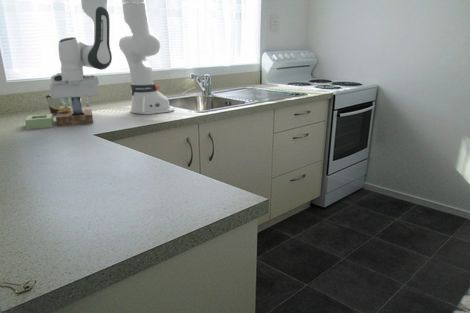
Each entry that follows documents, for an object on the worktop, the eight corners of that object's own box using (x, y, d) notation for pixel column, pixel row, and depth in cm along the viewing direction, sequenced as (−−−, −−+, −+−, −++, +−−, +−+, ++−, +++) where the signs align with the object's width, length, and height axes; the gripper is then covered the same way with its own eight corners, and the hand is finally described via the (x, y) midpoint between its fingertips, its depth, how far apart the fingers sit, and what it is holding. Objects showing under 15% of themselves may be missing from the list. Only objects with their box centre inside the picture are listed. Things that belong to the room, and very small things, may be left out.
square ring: (53, 122, 172) (52, 113, 171) (52, 127, 163) (50, 118, 162) (29, 124, 169) (27, 115, 167) (26, 129, 160) (24, 120, 159)
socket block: (92, 117, 183) (91, 108, 182) (93, 123, 170) (92, 114, 169) (58, 119, 178) (57, 111, 177) (57, 126, 165) (55, 117, 164)
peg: (83, 121, 174) (80, 95, 170) (83, 123, 170) (80, 97, 167) (74, 122, 173) (71, 96, 169) (74, 124, 169) (70, 97, 165)
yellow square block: (72, 116, 179) (70, 105, 177) (72, 118, 175) (70, 107, 173) (60, 117, 177) (59, 106, 176) (60, 119, 173) (58, 108, 171)
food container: (76, 111, 196) (74, 92, 193) (70, 114, 190) (68, 94, 187) (54, 111, 197) (51, 92, 194) (48, 113, 191) (44, 94, 188)
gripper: (97, 74, 171) (100, 104, 176) (48, 76, 164) (53, 107, 168) (98, 75, 166) (101, 106, 170) (47, 77, 159) (52, 109, 163)
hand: (77, 107), depth 169 cm, fingers open, 8 cm apart
